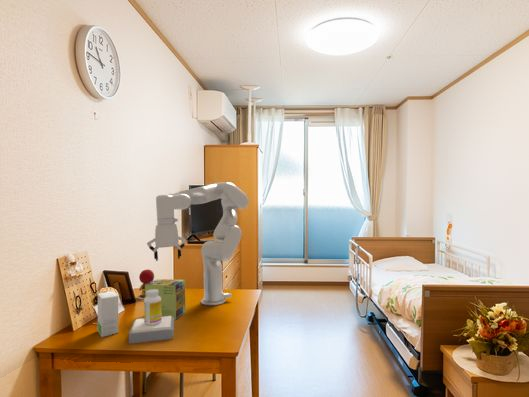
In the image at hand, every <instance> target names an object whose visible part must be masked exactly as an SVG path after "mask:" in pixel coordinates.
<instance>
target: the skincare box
mask: <svg viewBox="0 0 529 397" xmlns="http://www.w3.org/2000/svg"><path fill="white" fill-rule="evenodd" d="M97 332H98V333H99V335H100V336H101V337H102V338H104V337H108V336H113V335H116V333H117V334H118V333H119V294H117V293H116V292H115V291H113V290H112V291H105V292H100V293H97ZM112 334H113V335H112Z"/></svg>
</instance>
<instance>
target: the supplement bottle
mask: <svg viewBox="0 0 529 397" xmlns="http://www.w3.org/2000/svg"><path fill="white" fill-rule="evenodd" d="M146 295H147V297H146V298H145V299H144V300H143V316H144V323H145V324H146V325H155V324H158V323H160V322H161V321H162V313H161V297H160V296H158V290H157V289H151V290H147V291H146Z"/></svg>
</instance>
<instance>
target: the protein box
mask: <svg viewBox="0 0 529 397" xmlns="http://www.w3.org/2000/svg"><path fill="white" fill-rule="evenodd" d="M151 289H157V290H158V296H160V297H161V313H162V317H164V316H171V317H174V321H175V320H177V319H178V318H180V317H182V316H183V315H184V314H186V312H187V309H186V308H187V307H186V306H187V304H186V279H173V278H171V279H166V278H156V279H154V280H153V281H151V282H149V283H147V284H145V298H146V297H147V295H146V291H147V290H151Z"/></svg>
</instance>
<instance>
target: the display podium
mask: <svg viewBox="0 0 529 397" xmlns="http://www.w3.org/2000/svg"><path fill="white" fill-rule="evenodd" d="M174 330H175V320H174V317H171V316H164V317H162V321H161V322H160V323H158V324H155V325H146V324H145V323H144V318H143V317H142V318H136V320H134V321H133V323H132V326H131V328H130V330H129V333H128V344H129V345H130V343H131V344H139V343H147V342H155V341H156V342H157V341H165V340H171V339H172V340H174Z"/></svg>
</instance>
